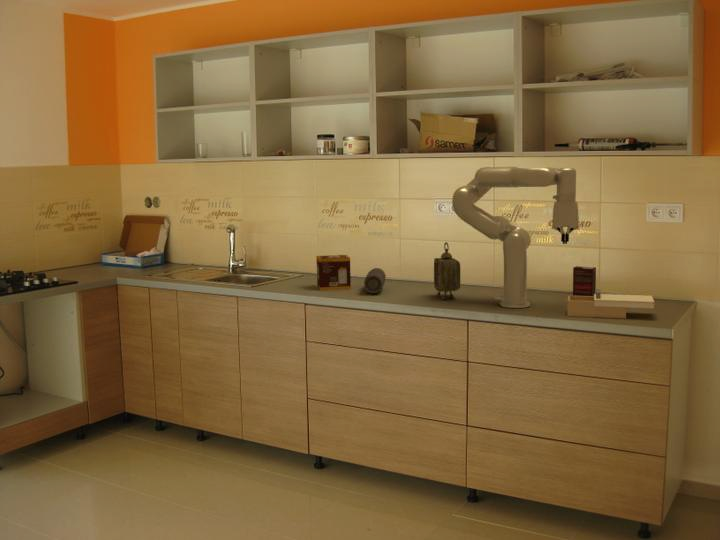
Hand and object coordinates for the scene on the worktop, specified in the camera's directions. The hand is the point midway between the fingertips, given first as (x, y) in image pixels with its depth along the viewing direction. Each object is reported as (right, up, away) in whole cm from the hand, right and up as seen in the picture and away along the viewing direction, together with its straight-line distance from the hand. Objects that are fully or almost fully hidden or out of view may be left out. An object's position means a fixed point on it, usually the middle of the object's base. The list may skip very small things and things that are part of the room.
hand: (564, 243), depth 325 cm
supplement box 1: (-96, -20, +61) cm, 116 cm away
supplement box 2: (+11, -26, +12) cm, 31 cm away
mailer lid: (+20, -24, -11) cm, 33 cm away
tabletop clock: (-45, -24, +32) cm, 60 cm away
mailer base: (+10, -28, -8) cm, 31 cm away
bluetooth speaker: (-76, -21, +51) cm, 94 cm away
